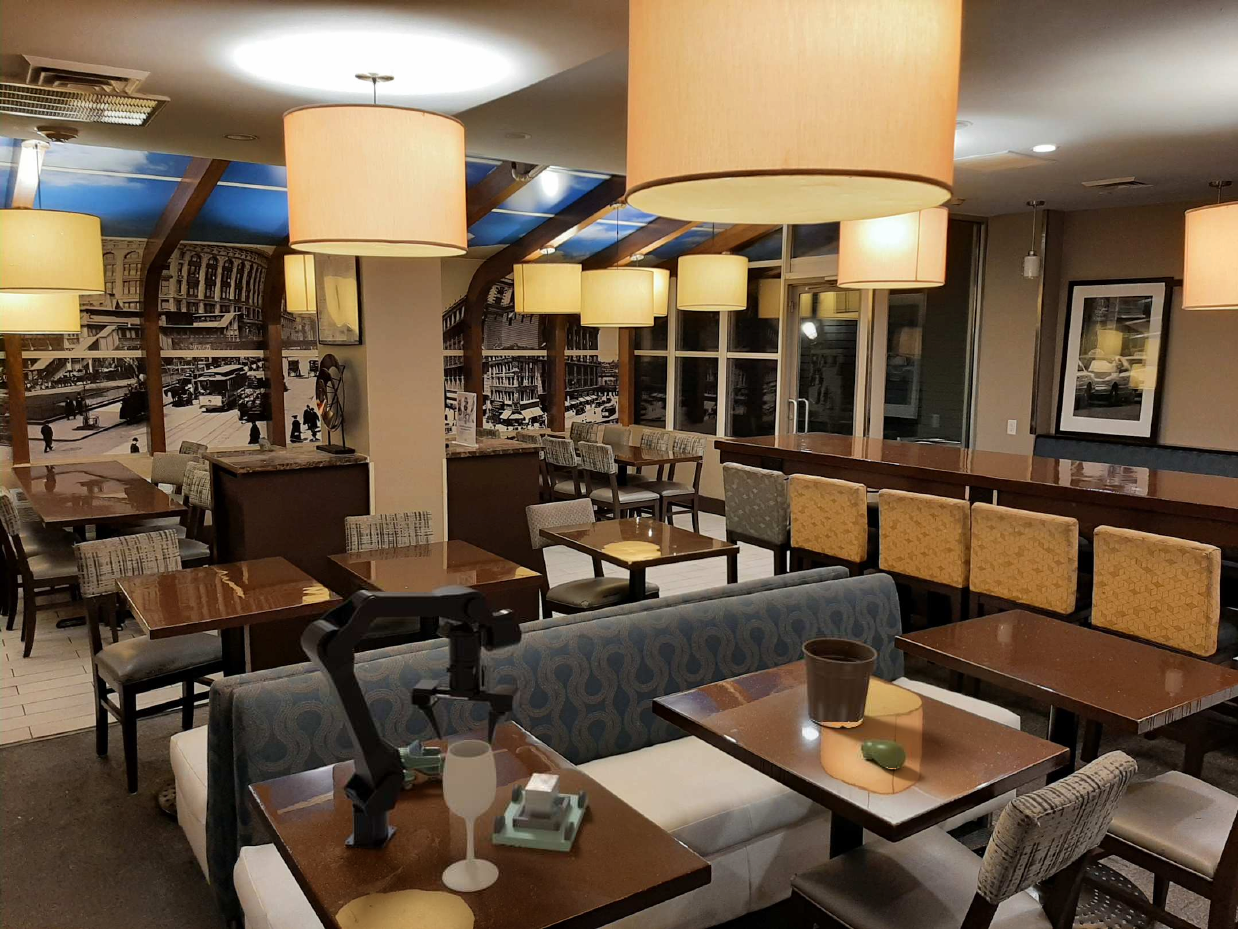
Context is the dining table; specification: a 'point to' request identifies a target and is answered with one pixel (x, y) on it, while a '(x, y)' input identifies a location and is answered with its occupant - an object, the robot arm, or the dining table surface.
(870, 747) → the pear
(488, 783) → the wineglass
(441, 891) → the dining table surface
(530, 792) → the white block
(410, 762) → the hoverbike
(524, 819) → the chassis
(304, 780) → the dining table surface
